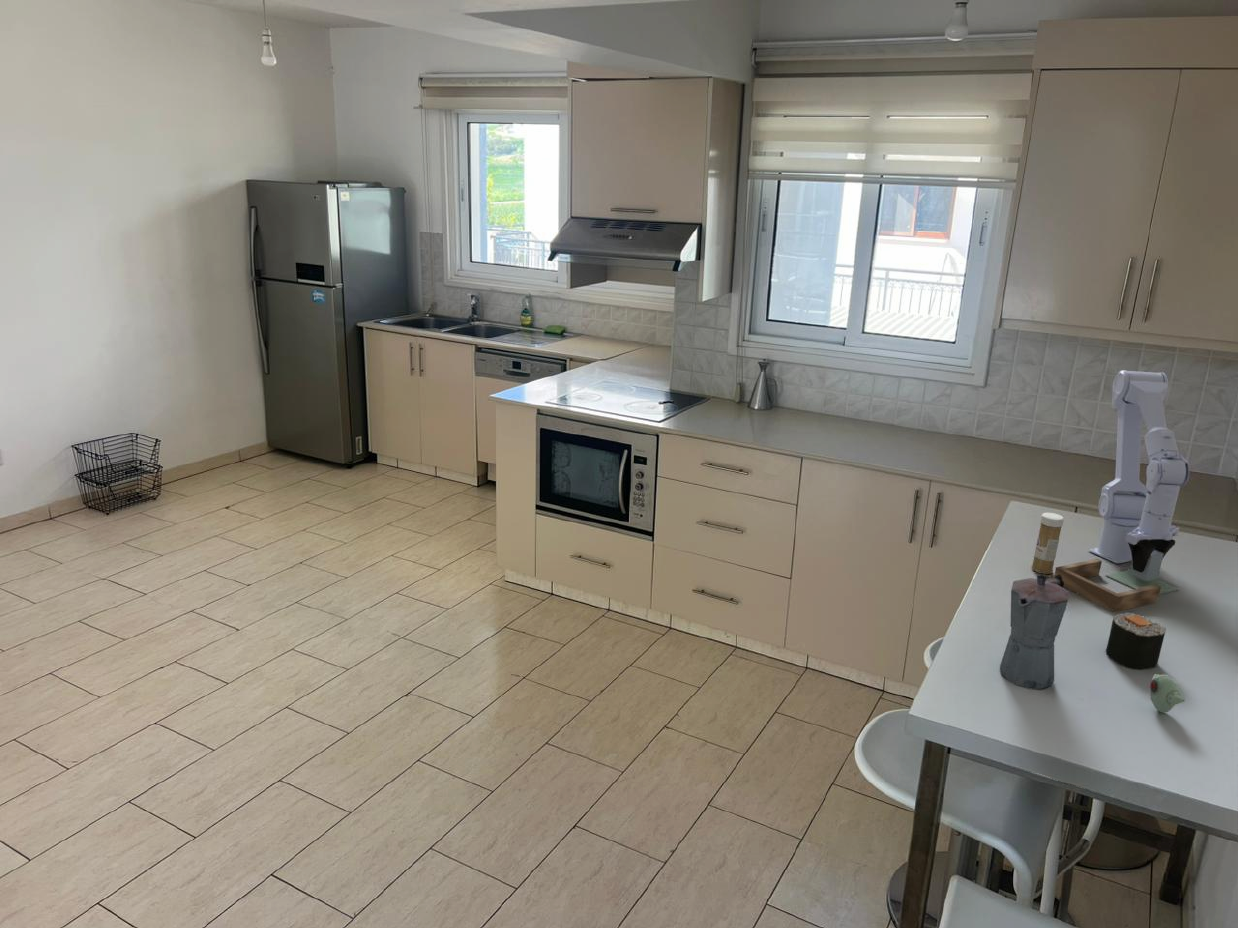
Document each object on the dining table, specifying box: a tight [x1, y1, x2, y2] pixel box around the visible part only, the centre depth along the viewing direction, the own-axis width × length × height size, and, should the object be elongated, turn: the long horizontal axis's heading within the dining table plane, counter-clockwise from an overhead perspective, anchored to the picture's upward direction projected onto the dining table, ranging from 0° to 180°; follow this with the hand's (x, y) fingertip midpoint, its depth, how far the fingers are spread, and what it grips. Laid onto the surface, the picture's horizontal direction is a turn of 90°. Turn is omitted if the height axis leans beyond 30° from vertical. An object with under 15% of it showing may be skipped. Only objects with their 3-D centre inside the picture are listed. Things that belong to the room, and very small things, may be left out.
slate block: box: [1129, 549, 1164, 581], centre depth 200 cm, size 4×4×6 cm
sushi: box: [1105, 612, 1167, 670], centre depth 168 cm, size 8×8×8 cm
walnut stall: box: [1053, 558, 1161, 613], centre depth 196 cm, size 13×15×4 cm
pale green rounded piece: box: [1149, 673, 1186, 714], centre depth 151 cm, size 8×4×7 cm, turn 175°
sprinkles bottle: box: [1031, 512, 1065, 575], centre depth 204 cm, size 5×5×14 cm
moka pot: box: [999, 574, 1070, 690], centre depth 159 cm, size 10×15×20 cm, turn 135°
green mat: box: [1105, 569, 1179, 595], centre depth 202 cm, size 9×11×1 cm
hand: (1144, 569), depth 201 cm, fingers closed on slate block, 4 cm apart
